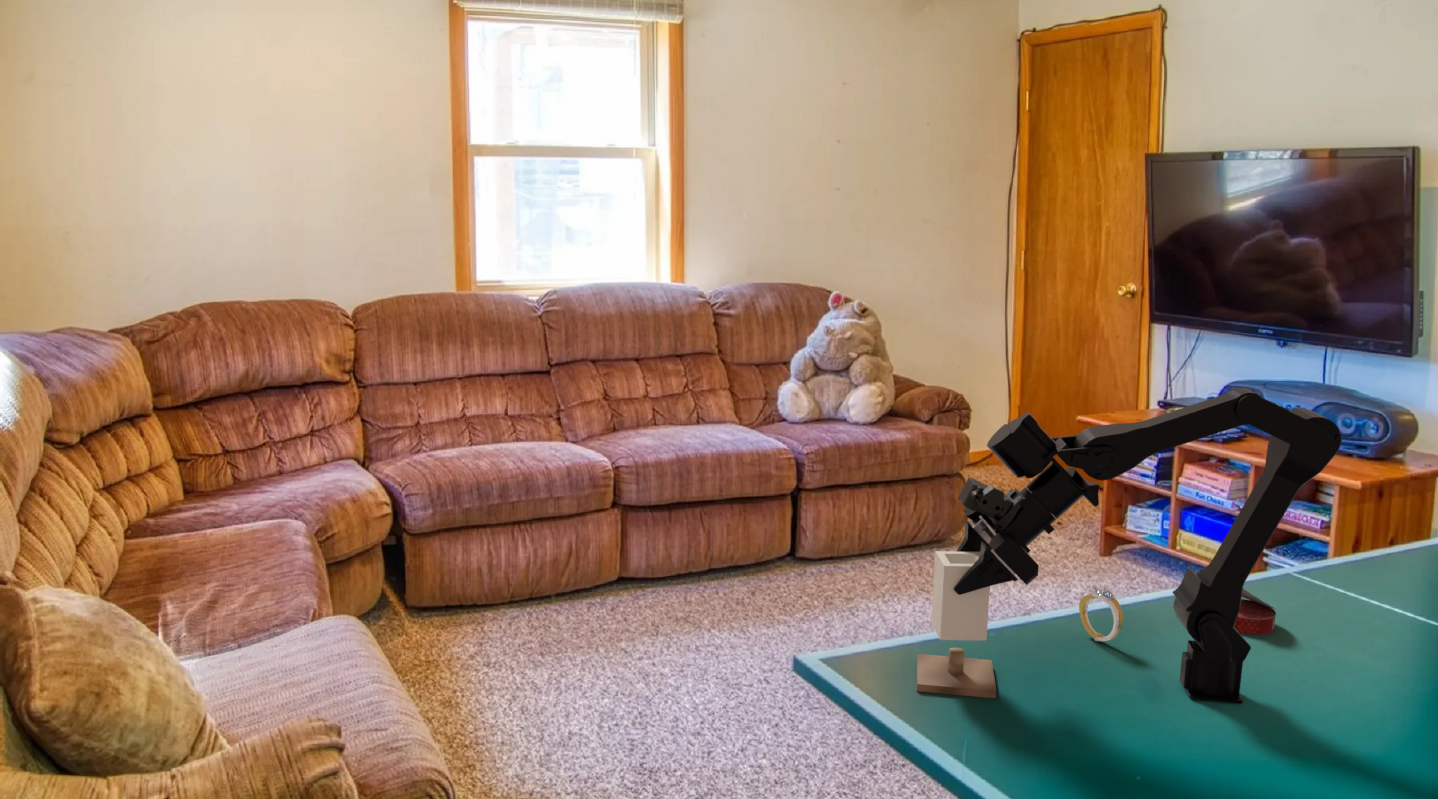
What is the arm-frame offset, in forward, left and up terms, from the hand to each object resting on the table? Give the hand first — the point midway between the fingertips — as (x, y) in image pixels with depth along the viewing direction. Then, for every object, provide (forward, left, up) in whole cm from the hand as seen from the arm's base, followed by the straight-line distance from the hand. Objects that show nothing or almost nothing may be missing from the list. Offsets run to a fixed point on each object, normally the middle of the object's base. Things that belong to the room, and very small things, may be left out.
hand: (950, 583), depth 151 cm
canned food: (-45, -30, -14) cm, 56 cm away
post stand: (-1, 0, -13) cm, 13 cm away
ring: (-22, -18, -13) cm, 32 cm away
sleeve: (-1, 0, -7) cm, 7 cm away
